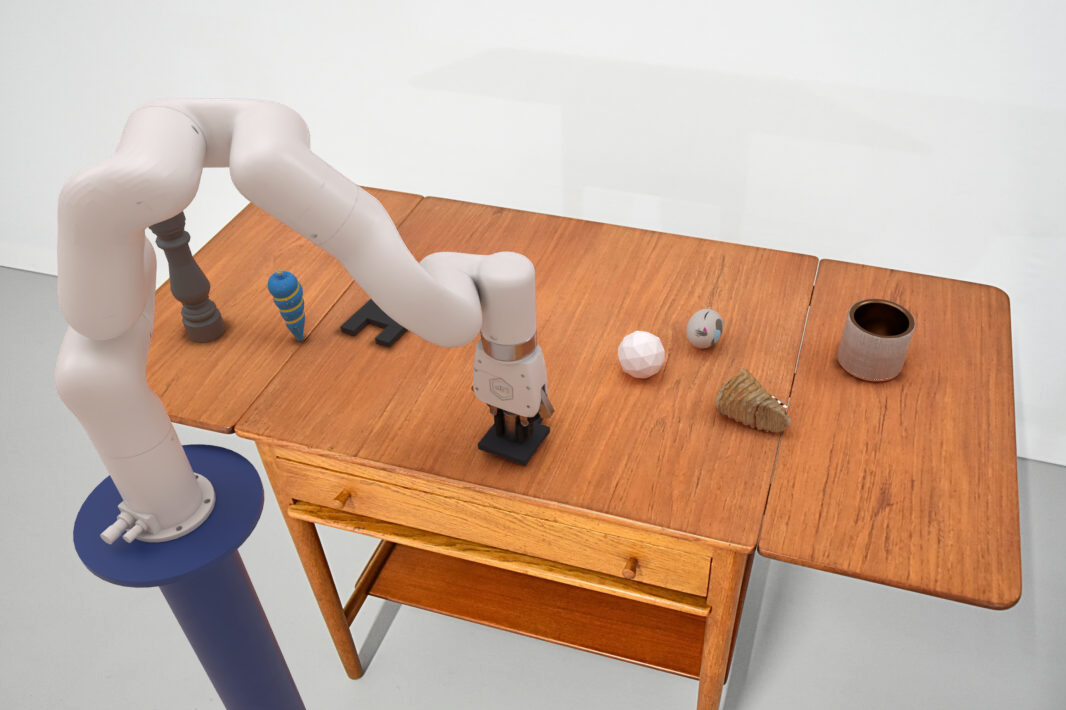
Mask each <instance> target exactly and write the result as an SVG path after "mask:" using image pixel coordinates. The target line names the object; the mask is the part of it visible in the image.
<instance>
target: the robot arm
mask: <svg viewBox="0 0 1066 710" xmlns="http://www.w3.org/2000/svg"><path fill="white" fill-rule="evenodd" d="M311 142H312V141H311V132H310V129H309V126H308V124H307V122H306V120H305V119H304V118H303V117H302V116H301V115H300V114H299V112H297V111H296V110H294V109H293V108H292V107H290V106H288V105H285V104H283V103H280V102H276V101H271V100H264V99H255V98H233V97H232V98H231V97H230V98H228V97H226V98H225V97H224V98H221V97H220V98H219V97H213V98H212V97H161V98H156V99H151V100H149V101H146V102H144V103H142V104H139V106H137V107H136V108H135V109H134V110H132V112H131V113H130V114H129V116H128V117H127V119H126V121H125V124H124V126H123V129H122V132H121V134H120V138H119V140H118V144H117V146H116V148H115V150H114V153H113V154H112V155H111V156H110V157H108V158H105V159H103V160H100V161H98V162H96V163H94V164H93V163H92V164H90V165H88V166H86V167H83V168H81V169H80V170H77V171H76V172H75V173H73V174H72V175H71V176H69V178H68V179H67V180H66V181H65V182H64V184H63V185H62V187H61V189H60V191H59V194H58V200H57V245H56V256H57V258H56V259H57V285H56V297H57V303H58V307H59V310H60V313H61V315H62V317H63V318H64V320H65V322H66V323H67V324H68V325H67V329H66V330H65V331H66V332H65V334H64V337H63V339H62V342H61V345H60V349H59V351H58V353H57V354H58V355H57V358H56V361H55V367H54V375H53V376H54V377H53V379H54V387H55V390H56V393H57V395H58V397H59V399H60V401H61V402H62V403H63V404H64V405H65V407H66V408H67V409H68V410H69V411H70V412H71V413H72V414H73V416H74V417H75V418H76V419H77V420H78V422H79V423H80V425H81V426H82V428H83V429H84V431H85V432H86V434H87V436H88V438H89V440H90V442H91V444H92V445H93V447H94V449H95V450H96V452H97V454H98V455H99V458H100V459H101V461H102V464H103V465H104V466H105V469H106V470H107V473H108V474H109V475H110V476H111V478H112V480H113V482H114V484H115V485H116V487H117V489H118V491H119V493H120V495H121V497H122V499H123V500H124V501H123V502H121V503H120V504H119V505H118V507H119V509H120V511H121V514H120V515H118V516H117V521H116V522H115V523H114V524H113V525H111V526H109V527H108V528H107V529H106V530H105V531H104V532H103V533H102V534H100V537H101V538H102V539H103V540H104V541H105V542H106V543H108V544H112V543H113V542H114V541H115V540H116V539H117V538H119V537H120V536H121V535H122V533H123V532H124V531H125V530H126V531H127V533H126V534H125V535H123V536H122V537H123V539H124V540H125V541H126V542H128V543H131V542H132V541H133V540H134V539H138V540H140V541H144V542H165V541H170V540H174V539H177V538H179V537H182V536H184V535H186V534H188V533H190V532H192V531H193V530H195V529H196V528H197V527H199V526H200V525H201V524H202V523H203V522H204V521H205V520H206V519H207V518H208V517H209V515H210V514H211V512H212V510H213V508H214V505H215V501H216V496H215V491H214V488H213V486H212V484H211V483H210V481H209V480H208V479H207V478H205V477H204V476H202V475H200V474H197V473H194V472H193V470H192V468H191V465H190V463H189V461H188V459H187V456H186V454H185V452H184V450H183V447H182V445H183V444H182V443H181V440H180V438H179V436H178V434H177V431H176V429H175V427H174V424H173V422H172V420H171V418H170V416H169V413H168V411H167V409H166V407H165V405H164V403H163V401H162V400H161V398H160V397H159V396H158V395H157V394H156V393H155V391H154V390H152V389H151V387H150V386H149V383H148V379H147V367H148V361H149V358H150V350H151V345H152V341H153V335H154V329H155V317H156V291H157V290H156V289H157V272H158V271H157V270H158V269H157V268H158V260H157V254H156V251H155V248H154V245H153V243H152V242H151V241H150V240H149V238H148V237H147V235H146V230H147V229H148V227H149V226H151V225H154V224H156V223H159V222H162V221H165V220H167V219H170V218H172V217H174V216H176V215H177V214H179V213H181V212H182V211H183V212H184V210H186V209H187V208H188V207H189V206H190V205H191V203H192V202H193V201H194V200H195V198H196V196H197V193H198V191H199V188H200V184H201V178H202V174H203V170H204V169H205V168H206V169H209V168H212V169H213V168H214V169H216V168H223V169H224V168H229V175H230V180H231V182H232V184H233V186H234V187H235V189H236V190H237V192H238V193H239V194H240V195H241V196H243V197H244V199H246V200H247V201H248V202H250V203H251V204H252V205H254V206H255V207H257V208H259V209H260V210H262V211H263V212H265V214H268V215H269V216H271V217H272V218H273V219H275V220H277V221H278V222H280V223H281V224H283V225H285V226H286V227H288V228H289V229H291V230H292V231H294V232H295V233H296V234H298V235H300V236H301V237H302V238H304V239H306V240H307V241H309V242H311V243H312V244H313V245H314V246H316V247H318V248H320V249H321V250H323V251H324V252H325V253H327V254H329V255H330V256H331V257H333V258H334V259H336V260H337V262H339V263H340V264H341V266H342V267H343V269H344V270H345V271H346V272H347V274H348V275H349V276H350V277H351V279H352V280H353V281H354V282H355V283H356V284H357V285H358V286H359V287H360V288H361V289H362V290H363V291H364V293H366V295H367V296H368V297H369V298H370V299H372V300H373V301H374V302H375V303H376V304H377V305H378V306H379V307H380V308H381V309H382V310H383V311H384V312H385V313H386V314H387V315H388V316H389V317H391V318H392V319H393V320H394V321H396V322H397V323H398V324H400V325H401V326H403V327H405V328H406V329H408V330H407V331H409V332H411V333H412V334H414V335H415V336H417V337H418V338H420V339H422V340H424V341H426V342H428V343H430V344H433V345H435V346H438V347H440V348H441V347H442V348H447V349H457V348H462V347H464V346H466V345H469V344H470V343H471V342H473V341H474V340H475V339H476V338H477V337H478V335H479V333H480V339H479V340H478V341H477V343H476V346H475V352H474V358H473V368H472V386H471V387H470V389H471V391H472V392H473V394H474V396H475V398H476V399H477V400H479V401H480V402H482V403H484V404H486V406H487V407H488V408H489V413H490V414H491V415H492V416H493V424H494V426H496V435H497V436H502V434H503V433H504V425H503V410H506V411H509V412H512V413H515V414H518V415H519V416H520V422H519V423H518V425H517V432H518V442H519V444H523V443H524V442H525V441H526V439H527V438H530V437H531V436H532V434H533V422H534V421H536V420H538V419H539V418H541V419H543V418H544V419H551V418H552V416H553V415H554V414H555V411H556V410H555V409H554V406H553V405H552V403H551V401H550V399H549V383H548V380H549V379H548V372H547V366H546V360H545V356H544V353H543V350H542V347H541V345H540V344H538V330H537V329H538V327H537V325H538V322H537V321H538V320H537V316H538V315H537V279H536V278H537V277H536V269H535V266H534V264H533V263H532V261H531V260H530V259H529V258H528V257H527V256H525V255H524V254H521V253H518V252H516V251H498V252H494V253H491V254H475V253H466V252H458V251H438V252H433V253H430V254H428V255H426V256H425V257H424V258H423V259H421V260H420V262H419V261H418V260H417V259H416V258H415V256H414V255H413V254H412V252H411V251H410V250H409V249H408V247H407V245H406V244H405V242H404V240H403V238H402V237H401V235H400V233H399V230H398V229H397V227H396V225H395V223H394V221H393V220H392V217H391V216H390V214H389V213H388V211H387V210H386V208H385V207H384V205H383V204H382V203H381V202H380V201H379V199H378V198H376V197H375V196H373V195H372V194H371V193H369V192H368V191H367V190H365V189H364V188H363V187H361V186H360V185H358V184H357V183H355V182H354V181H352V180H351V179H350V178H349V177H347V176H346V175H344V174H343V173H342V172H340V171H339V170H337V169H336V168H335V167H334V166H332V165H330V164H329V163H328V162H327V161H325V160H324V159H323V158H322V157H320V156H319V155H317V154H316V153H315V152H313V151H312V150H311V145H312V143H311ZM544 419H543V420H544Z"/></svg>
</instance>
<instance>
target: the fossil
mask: <svg viewBox="0 0 1066 710" xmlns="http://www.w3.org/2000/svg"><path fill="white" fill-rule="evenodd" d="M782 407H783V408H784V409H787V408H788V405H786V404H785V403H783V402H782V401H780V400H779V399H778V398H776V397H775V396H774V395H772V394H771V393H770V392H769V391H768V390H767V389H766V388H765V387H764V386H762V384H761V382H760V381H759V380H758V379H756V378H755V376H754V375H753V374H752V373H751V372H750V371H749V369H747V368H743V367H742V368H739V369H738V372H737V373H736V374H735V375H734V376H733V377H731V378H729V379H728V380H727V381H725V382H724V383H723V385H722V387H721V388H720V389H719V391H718V392H717V394H716V397H715V408H716V410H717V411H718V412H719V414H720V413H721V415H722V416H727V418H728V419H734V420H735V422H736V423H742V425H744V426H750V428H751V429H755V428H756V429H757V431H762V430H764V431H765V432H766V433H768V432H770V433H780V432H783V431H784V430H786V429H788V427H790V426H791V425H792V424H791V423H792V418H791V416H789V415H787V414H785V411H783V408H782Z"/></svg>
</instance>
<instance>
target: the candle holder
mask: <svg viewBox="0 0 1066 710" xmlns="http://www.w3.org/2000/svg"><path fill="white" fill-rule="evenodd" d="M186 220H187V218H186V214H185V212H184V210H183V211H182V212H181V213H179V214H177V215H176V216H174V217H172V218H170V219H167V220H165V221H162V222H159V223H156V224H154V225H151V226H149V227H147V229H148V230H151V233H152V234H153V235H155V236H156V238H155V241H154V243H155V245H156V246H157V248H159V249H160V250H162V251H163V253H164V255H165V258H166V260H167V264H168V265H167V267H168V274H169V276H168V278H169V287H170V288H169V290H170V292H171V294H172V296H173V298H174V300H177V302H179V303H180V304H181V306H182V307H181V311H180V315H181V316H182V319H181V321H182V324H183V326H184V329H185V332H186V334H187V337H188V339H189V340H190V341H192V342H194V343H200V344H203V343H210V342H212V341H215V340H217V339H218V338H220V337H222V335H223V334H225V331H226V325H225V321H224V319H223V316H222V313H221V311H220V309H219V308H218V307H217V305H216V302H215V301H214V300H212V299H210V296H209V295H210V292H211V282H210V280H209V279H208V277H207V276H206V274H205V273H204V271H203V270H202V268H201V267H200V265H199V264H198V262H197V261H196V259H195V258H194V256H193V254H192V251H191V248H190V247H191V246H190V245H189V244H190V242H191V237H192V236H191V235H190V233H189V231H188V230H187V231H186V229H185V228H186V227H185V226H186Z"/></svg>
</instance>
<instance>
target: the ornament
mask: <svg viewBox="0 0 1066 710" xmlns="http://www.w3.org/2000/svg"><path fill="white" fill-rule="evenodd" d="M267 290H268V293H270V295H271V296H272V301H273V304H274V305H275V306H276V307H277V308H278V309H279V314H280V316H281V318H282V319H283V320H284V322H285V326H286V328H287V330H288V331H289V332H290V333H291V334H292V335H293V336H294V337H295V339H296V340H297V341H298V342H303V340H304V331H305V325H306V313H305V299H304V298H303V297H304V296H303V295H304V289H303V285H302V284H301V283H300V281H299V280H298V278H297V277H296V275H294V274H293V273H292V272H290V271H288V270H282V269H276V272H273V273H272V274H271V275H270V276H269V277H268V280H267Z"/></svg>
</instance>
